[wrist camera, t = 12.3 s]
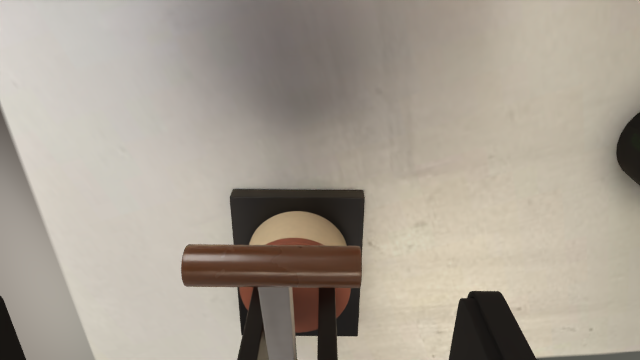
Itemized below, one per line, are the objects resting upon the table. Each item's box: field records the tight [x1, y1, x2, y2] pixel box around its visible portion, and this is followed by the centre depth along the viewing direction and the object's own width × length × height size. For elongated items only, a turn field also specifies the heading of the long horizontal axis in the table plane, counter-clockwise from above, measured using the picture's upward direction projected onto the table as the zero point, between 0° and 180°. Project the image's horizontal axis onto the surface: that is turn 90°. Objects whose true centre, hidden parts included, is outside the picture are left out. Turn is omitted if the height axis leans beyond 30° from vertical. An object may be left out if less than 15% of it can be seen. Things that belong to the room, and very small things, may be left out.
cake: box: [239, 211, 351, 333], centre depth 31 cm, size 7×7×4 cm
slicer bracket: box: [230, 189, 365, 360], centre depth 28 cm, size 12×9×14 cm
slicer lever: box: [181, 244, 362, 360], centre depth 20 cm, size 13×6×2 cm, turn 0°
